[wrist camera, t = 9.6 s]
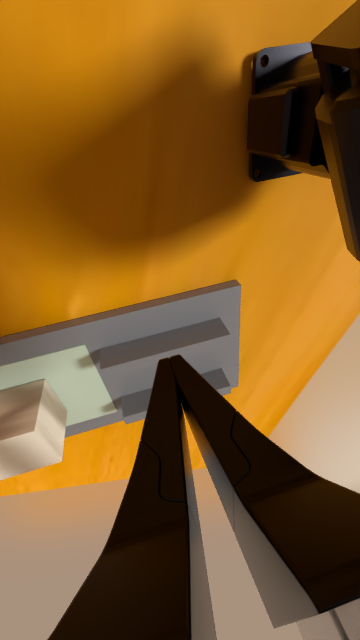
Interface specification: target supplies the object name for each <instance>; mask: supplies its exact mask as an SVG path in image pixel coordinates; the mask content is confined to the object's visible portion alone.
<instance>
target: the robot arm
mask: <svg viewBox="0 0 360 640" xmlns="http://www.w3.org/2000/svg"><path fill="white" fill-rule="evenodd" d="M262 56H264V58H265V65H264V67H262V66H261V64H260V60H261V57H262ZM247 149H248V151H249V152H250V153H249V178H250V180H252V181H255V182H260V181H265V180H270V179H275V178H280V177H285V176H290V175H295V174H300V173H306V174H311V175H315V176H319V177H324V178H328V179H331V182H332V187H333V191H334V195H335V199H336V204H337V208H338V212H339V216H340V221H341V225H342V229H343V233H344V238H345V242H346V246H347V249H348V250H349V252H350V253H351V254H352V255H353V256H354V257H355V258H356V259H357V260H358V261H360V0H357V1H356V2H355V3H354V4H353V5H352V6H350V7H349V8H348V9H347V10H346V11H345V12H344V13H342V14H341V15H340V16H339V17H338V18H337V19H336V20H335V21H333V22H332V23H331V24H330V25H329V26H328V27H327V28H325V29H324V30H323V31H322V32H321V33H320V34H319V35H318V36H316V37H315V38H314V39H313V40H312V41H311V42H308V43H300V44H293V45H285V46H277V47H270V48H264V49H262V50H260V51H258V52H257V53H256V54H255V57H254V59H253V71H252V96H251V98H250V99H249V104H248V135H247ZM257 170H259V174H258V176H256V177H255V172H256V171H257ZM182 407H183V408H182ZM183 410H184V413H185V416H186V418H187V421H188V423H189V425H190V428H191V430H192V433H193V435H194V437H195V440H196V442H197V445H198V447H199V449H200V452H201V454H202V457H203V459H204V461H205V464H206V466H207V469H208V471H209V473H210V476H211V478H212V481H213V483H214V485H215V488H216V490H217V493H218V495H219V497H220V500H221V502H222V505H223V507H224V509H225V512H226V514H227V517H228V519H229V521H230V524H231V526H232V529H233V531H234V533H235V536H236V538H237V541H238V543H239V546H240V548H241V550H242V553H243V555H244V558H245V560H246V562H247V565H248V567H249V570H250V572H251V574H252V577H253V579H254V581H255V584H256V586H257V589H258V591H259V594H260V596H261V598H262V601H263V603H264V605H265V608H266V610H267V613H268V615H269V618H270V620H271V622H272V625H273V627H274V628H277V627H280V626H283V625H287V624H290V623H293V622H297V625H298V627H299V630H300V633H301V635H302V638H303V640H360V494H359V493H357V492H355V491H352V490H349V489H347V488H345V487H343V486H340V485H338V484H335V483H333V482H331V481H328V480H326V479H324V478H322V477H320V476H318V475H316V474H315V473H313V472H312V471H310V470H309V469H307V468H306V467H304V466H303V465H302V464H300V463H299V462H298V461H297V460H295V459H294V458H293V457H292V456H290V455H289V454H288V453H286V452H285V451H284V450H283V449H281V448H280V447H279V446H277V445H276V444H275V443H273V442H272V441H271V440H269V439H268V438H267V437H266V436H265V435H264V434H262V433H261V432H260V431H259V430H257V429H256V428H255V427H254V426H253V425H252V424H251V423H250V422H249V421H248V420H246V419H245V418H244V417H243V416H242V415H241V414H240V413H239V412H238V411H236V409H235V408H234V407H233V406H232V405H231V404H230V403H229V402H228V401H227V400H226V399H225V398H224V397H223V396H222V395H221V394H220V393H219V392H218V391H217V390H216V389H215V388H214V387H213V386H212V385H211V384H210V383H208V382H207V381H206V380H205V379H204V378H203V377H202V376H201V375H200V374H199V373H198V372H197V371H196V370H195V369H194V368H193V367H192V366H191V365H190V364H189V363H188V362H187V361H186V360H185V359H184V358H183V357H182V356H181V355H179V354H177V355H174V356H170V359H169V358H168V357H166V358H163V359H160V360H159V361H158V364H157V369H156V373H155V377H154V382H153V386H152V391H151V395H150V399H149V404H148V408H147V412H146V417H145V421H144V426H143V430H142V434H141V441H140V443H139V447H138V451H137V455H136V459H135V463H134V467H133V470H132V473H131V476H130V479H129V483H128V485H127V488H126V491H125V494H124V497H123V499H122V502H121V505H120V508H119V511H118V514H117V516H116V519H115V522H114V525H113V528H112V530H111V533H110V536H109V538H108V541H107V543H106V545H105V547H104V549H103V551H102V553H101V555H100V557H99V559H98V560H97V562H96V564H95V565H94V567H93V568H92V570H91V572H90V573H89V575H88V576H87V578H86V580H85V581H84V583H83V584H82V586H81V588H80V589H79V591H78V592H77V594H76V596H75V597H74V599H73V600H72V602H71V604H70V605H69V607H68V608H67V610H66V612H65V613H64V615H63V617H62V618H61V620H60V621H59V623H58V625H57V626H56V628H55V630H54V631H53V632H52V634H51V635H50V637H49V638H48V639H47V640H217V638H216V631H215V624H214V617H213V611H212V604H211V597H210V590H209V583H208V577H207V570H206V563H205V556H204V549H203V542H202V535H201V529H200V522H199V515H198V508H197V501H196V494H195V488H194V481H193V474H192V467H191V460H190V453H189V446H188V440H187V433H186V426H185V419H184V413H183Z"/></svg>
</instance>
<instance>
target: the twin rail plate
mask: <svg viewBox="0 0 360 640" xmlns="http://www.w3.org/2000/svg"><path fill="white" fill-rule="evenodd" d="M240 297H241V285H240V284H239V283H238V281H237V280H233V281H229V282H225V283H221V284H217V285H213V286H208V287H204V288H200V289H196V290H192V291H188V292H184V293H180V294H176V295H172V296H167V297H163V298H159V299H155V300H151V301H147V302H143V303H139V304H135V305H131V306H126V307H122V308H118V309H114V310H110V311H106V312H102V313H98V314H94V315H90V316H86V317H81V318H77V319H73V320H69V321H65V322H61V323H57V324H53V325H49V326H45V327H40V328H36V329H32V330H28V331H24V332H20V333H16V334H12V335H8V336H4V337H0V391H2V390H5V389H9V388H13V387H16V386H20V385H24V384H28V383H31V382H35V381H39V380H43V379H45V380H46V381H47V382H48V384H49V385H50V387H51V388H52V390H53V391H54V393H55V394H56V395H57V397H58V398H59V400H60V401H61V403H62V404H63V405H64V407H65V408H66V410H67V419H66V428H65V437H69V436H72V435H76V434H79V433H82V432H86V431H89V430H92V429H96V428H99V427H102V426H106V425H109V424H113V423H116V422H119V421H123V420H124V421H125V423H126V424H129V423H132V422H135V421H139V420H142V419H145V417H146V412H147V408H148V404H149V399H150V395H151V391H152V386H153V382H154V377H155V373H156V369H157V364H158V361H159V360H160V359H163V358H166V357H168V358H169V359H170V356H174V355H177V354H179V355H181V356H182V357H183V358H184V359H185V360H186V361H187V362H188V363H189V364H190V365H191V366H192V367H193V368H194V369H195V370H196V371H197V372H198V373H199V374H200V375H201V376H202V377H203V378H204V379H205V380H206V381H207V382H208V383H210V384H211V385H212V386H213V387H214V388H215V389H216V390H217V391H218V392H219V393H220V394H221V395H226V394H229V393H231V388H234V387H237V386H238V374H239V336H240Z"/></svg>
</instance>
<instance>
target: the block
mask: <svg viewBox="0 0 360 640" xmlns="http://www.w3.org/2000/svg"><path fill="white" fill-rule="evenodd" d="M66 419H67V410H66V408H65V407H64V405H63V404H62V403H61V401H60V400H59V398H58V397H57V395H56V394H55V393H54V391H53V390H52V388H51V387H50V385H49V384H48V382H47V381H46V380H45V379H43V380H39V381H35V382H31V383H28V384H24V385H20V386H16V387H13V388H9V389H5V390H2V391H0V480H3V479H6V478H10V477H13V476H16V475H19V474H23V473H26V472H29V471H32V470H36V469H39V468H42V467H45V466H49V465H52V464H55V463H58V462H62V457H63V447H64V438H65V428H66Z"/></svg>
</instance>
